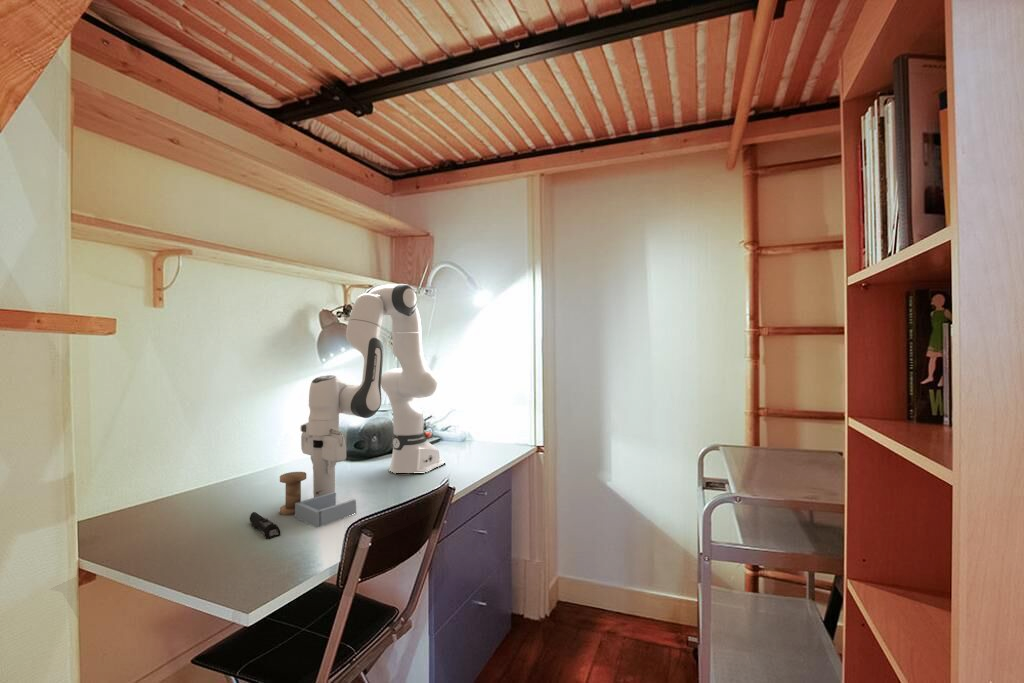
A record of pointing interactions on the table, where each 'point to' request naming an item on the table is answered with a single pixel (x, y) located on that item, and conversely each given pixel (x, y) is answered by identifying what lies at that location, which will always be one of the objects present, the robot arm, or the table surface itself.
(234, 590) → the table surface
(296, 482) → the bobbin
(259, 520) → the electric trimmer
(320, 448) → the travel mug
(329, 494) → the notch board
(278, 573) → the table surface
